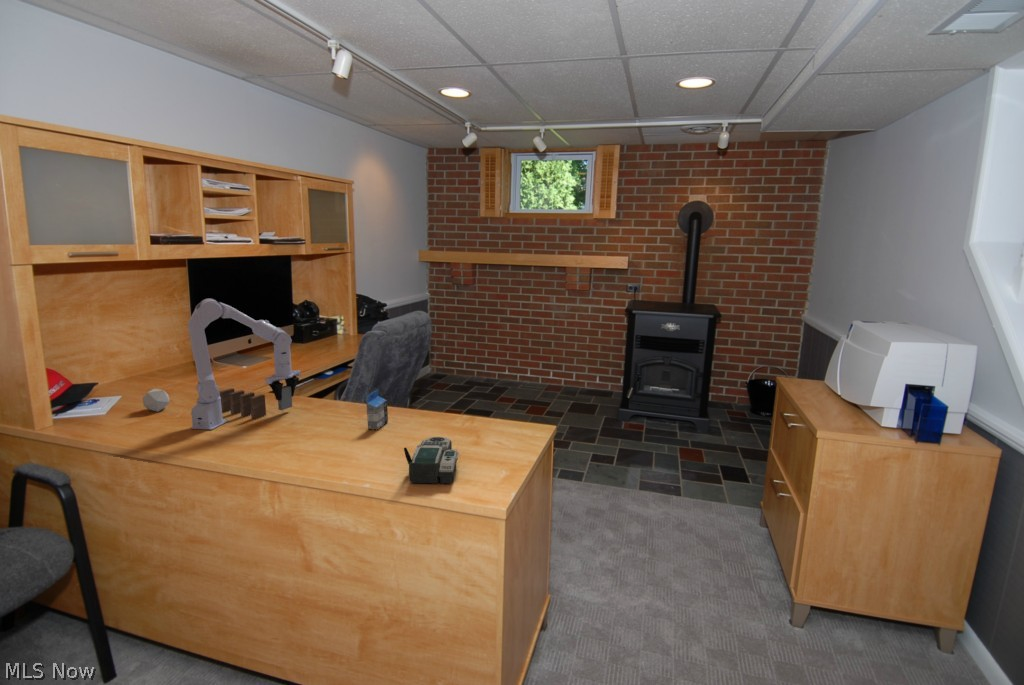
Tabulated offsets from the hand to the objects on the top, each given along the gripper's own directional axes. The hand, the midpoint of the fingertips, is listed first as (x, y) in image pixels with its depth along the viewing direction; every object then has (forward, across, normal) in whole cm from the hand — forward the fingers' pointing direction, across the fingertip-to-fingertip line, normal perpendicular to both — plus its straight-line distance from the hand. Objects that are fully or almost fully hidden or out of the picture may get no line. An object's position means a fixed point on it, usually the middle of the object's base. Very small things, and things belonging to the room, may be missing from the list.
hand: (284, 398), depth 199 cm
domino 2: (+6, -8, +16) cm, 19 cm away
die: (+6, -20, +45) cm, 49 cm away
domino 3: (+6, -8, +10) cm, 14 cm away
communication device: (+6, -13, -76) cm, 77 cm away
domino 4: (+6, -8, +5) cm, 11 cm away
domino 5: (+4, 0, 0) cm, 4 cm away
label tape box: (+6, +5, -40) cm, 41 cm away
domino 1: (+6, -8, +21) cm, 23 cm away
